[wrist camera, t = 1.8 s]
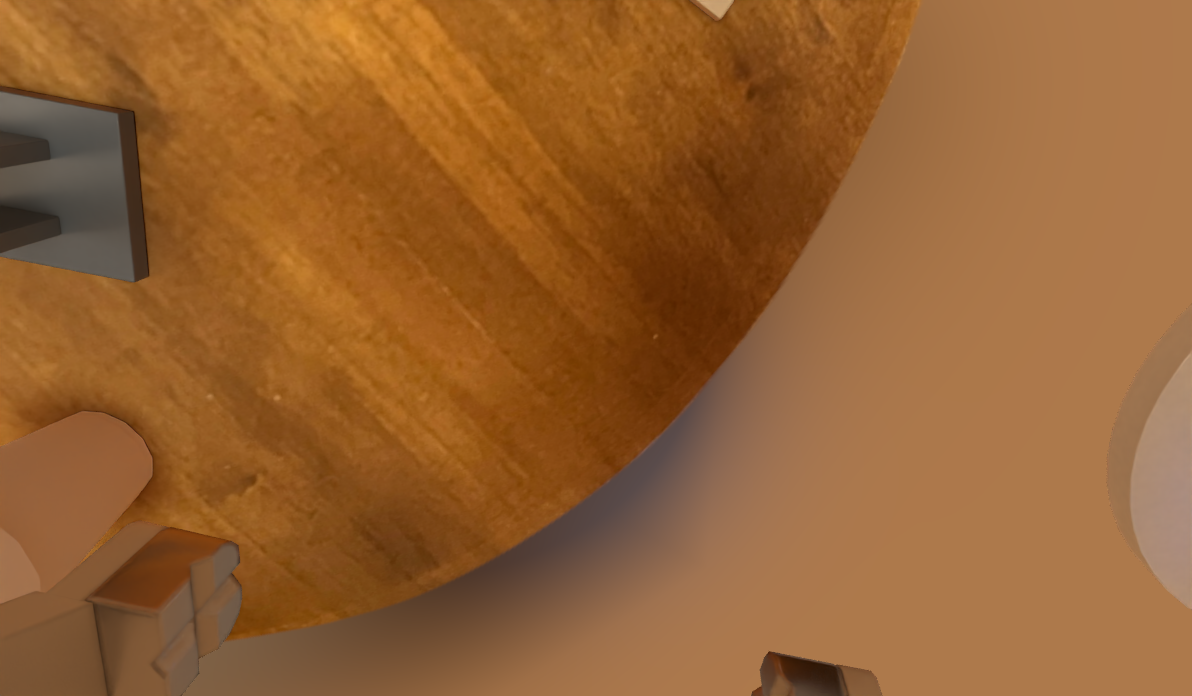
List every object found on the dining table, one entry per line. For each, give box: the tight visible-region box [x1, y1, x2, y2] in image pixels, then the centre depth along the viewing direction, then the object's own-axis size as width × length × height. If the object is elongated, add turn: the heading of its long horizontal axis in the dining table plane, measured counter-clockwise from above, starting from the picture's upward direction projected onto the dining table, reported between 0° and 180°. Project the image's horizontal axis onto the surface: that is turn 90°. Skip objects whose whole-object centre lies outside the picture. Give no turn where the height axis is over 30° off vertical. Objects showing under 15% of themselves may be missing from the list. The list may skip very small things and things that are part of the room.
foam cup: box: [0, 411, 153, 604], centre depth 38 cm, size 10×9×13 cm
